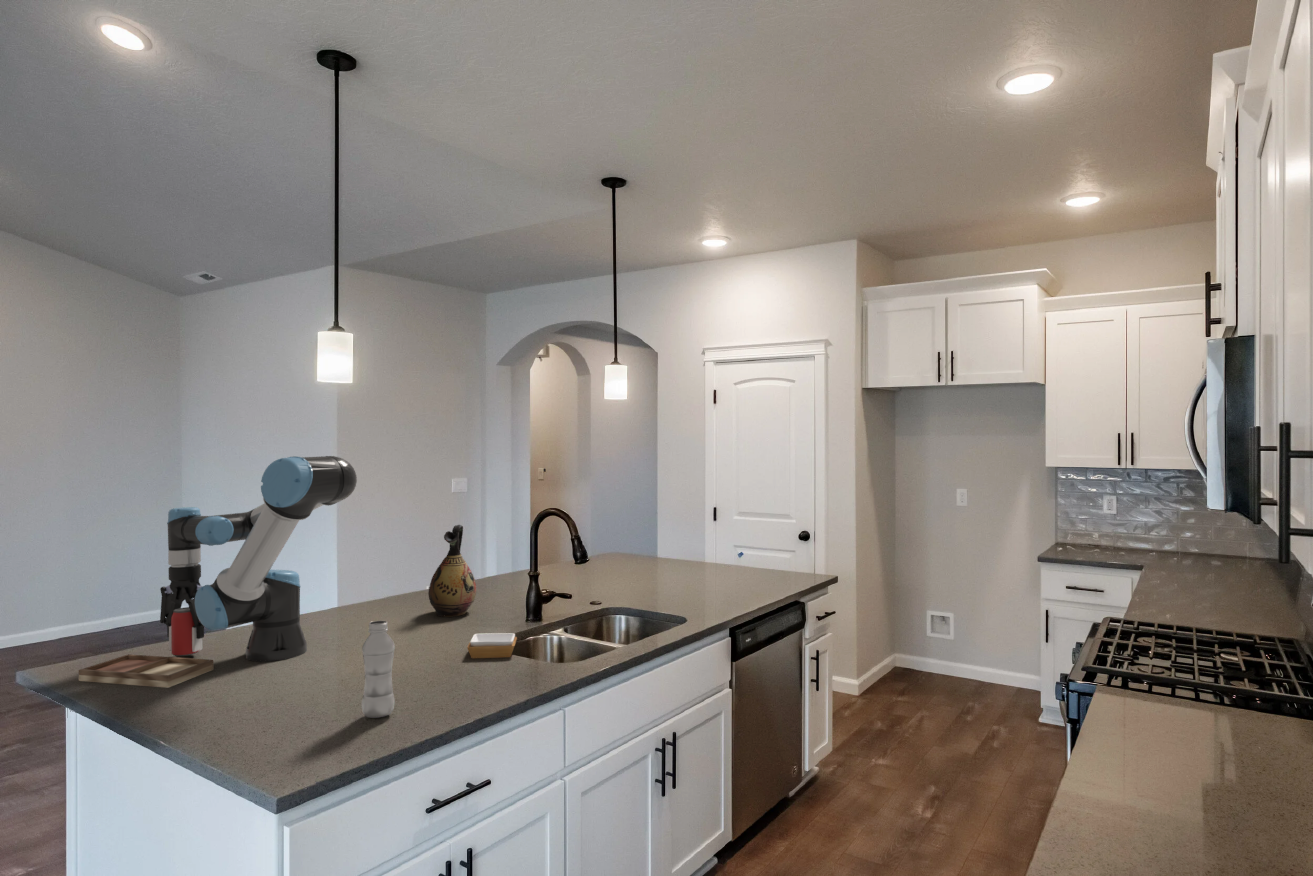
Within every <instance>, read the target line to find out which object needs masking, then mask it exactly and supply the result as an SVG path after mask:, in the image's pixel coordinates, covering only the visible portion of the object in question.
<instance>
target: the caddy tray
mask: <svg viewBox="0 0 1313 876" xmlns="http://www.w3.org/2000/svg"><path fill="white" fill-rule="evenodd" d="M211 671H214V659H203V658H190V657H179V656H160V655H147V654H143V655H142V654H132V653H131V654H124V655H122V656H119V657H116V658H112V659H109V660H106V661H103V662H100V663H97V664H93V665H91V666H88V667H87V666H86V667H84V668H81V669H79V670H78V681H79V682H89V683H90V682H92V683H100V684H101V683H103V684H113V685H114V684H116V685H117V684H118V685H128V686H141V687H143V686H144V687H153V688H154V687H155V688H167V689H168V688H171V687H174V686H176V685H178V684H181V683H184V682H186V681H188V680H189V681H190V680H191V679H194V678H197V677H199V676H201V675H203V674H206V673H209V672H211Z"/></svg>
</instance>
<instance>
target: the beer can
mask: <svg viewBox="0 0 1313 876" xmlns="http://www.w3.org/2000/svg"><path fill="white" fill-rule="evenodd" d="M199 622H200V621H199ZM193 626H195V625H194V622H193V618H192V615H191V612H190V609H189V606H187V607H181V608H179V609H175V610H174V611H173V615H172V618H171V640H172V651H171V655H172V656H173V657H186V656H191V655H195V654H197V653H199V652H200V651H201V650H199V651H196V652H192V627H193Z"/></svg>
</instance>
